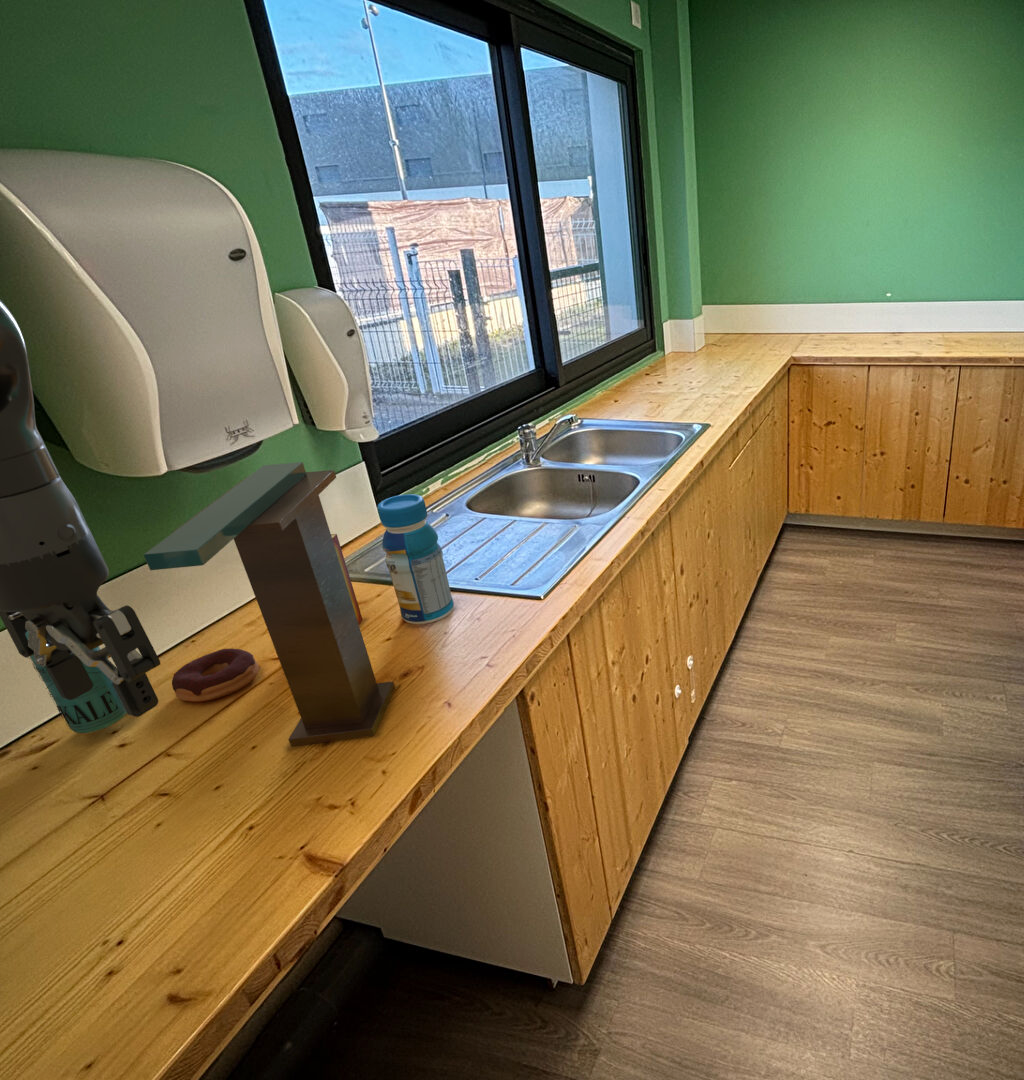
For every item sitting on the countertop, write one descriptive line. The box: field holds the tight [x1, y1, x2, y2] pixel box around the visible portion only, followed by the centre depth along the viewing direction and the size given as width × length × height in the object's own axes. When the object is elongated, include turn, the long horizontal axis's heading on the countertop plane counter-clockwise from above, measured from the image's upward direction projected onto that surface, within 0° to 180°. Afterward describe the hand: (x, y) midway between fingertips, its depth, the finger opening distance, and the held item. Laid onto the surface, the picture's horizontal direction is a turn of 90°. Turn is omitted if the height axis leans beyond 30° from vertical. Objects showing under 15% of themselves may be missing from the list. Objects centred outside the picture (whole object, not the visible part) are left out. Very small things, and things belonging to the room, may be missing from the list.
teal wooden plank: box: [143, 461, 307, 571], centre depth 72 cm, size 24×4×2 cm, turn 8°
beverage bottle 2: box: [377, 493, 455, 625], centre depth 112 cm, size 8×8×20 cm
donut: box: [171, 648, 260, 703], centre depth 99 cm, size 10×10×4 cm
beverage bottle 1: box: [25, 631, 128, 734], centre depth 88 cm, size 6×7×20 cm
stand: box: [172, 469, 396, 747], centre depth 84 cm, size 16×10×32 cm, turn 8°
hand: (111, 702), depth 63 cm, fingers open, 8 cm apart
